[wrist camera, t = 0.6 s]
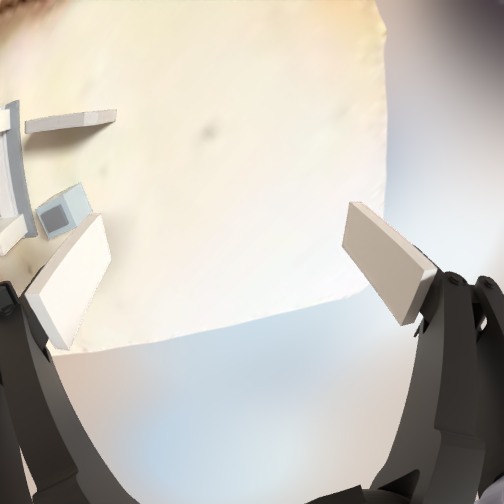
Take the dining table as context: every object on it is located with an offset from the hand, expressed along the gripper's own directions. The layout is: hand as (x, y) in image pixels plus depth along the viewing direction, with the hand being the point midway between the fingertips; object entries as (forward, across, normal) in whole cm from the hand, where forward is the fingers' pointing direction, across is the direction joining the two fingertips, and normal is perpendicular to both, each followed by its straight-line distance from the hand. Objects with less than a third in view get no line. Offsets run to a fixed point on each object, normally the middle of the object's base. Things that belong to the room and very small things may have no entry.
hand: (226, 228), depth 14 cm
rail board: (+25, -38, +2) cm, 46 cm away
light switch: (+25, -20, +7) cm, 33 cm away
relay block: (+25, -24, -6) cm, 35 cm away
